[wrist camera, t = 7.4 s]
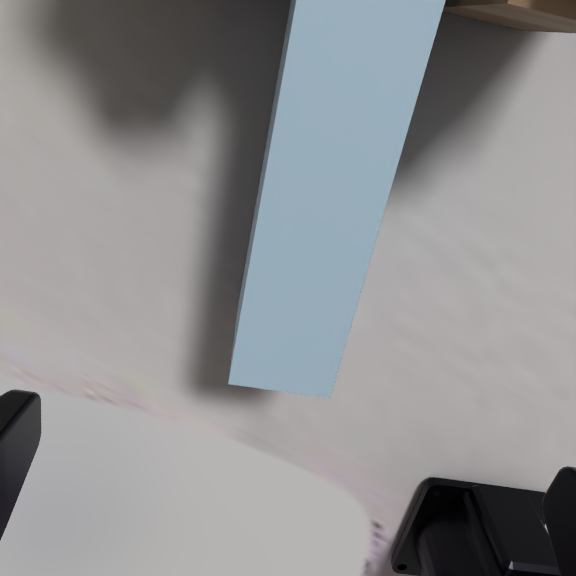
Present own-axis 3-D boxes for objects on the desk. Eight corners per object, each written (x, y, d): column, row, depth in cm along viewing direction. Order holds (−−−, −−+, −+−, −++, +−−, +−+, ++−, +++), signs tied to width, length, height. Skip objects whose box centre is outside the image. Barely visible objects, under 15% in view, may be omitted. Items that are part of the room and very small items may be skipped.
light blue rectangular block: (318, 317, 21) (331, 402, 16) (237, 304, 21) (226, 387, 16) (418, -73, 15) (481, -112, 10) (307, -100, 15) (322, -153, 10)
